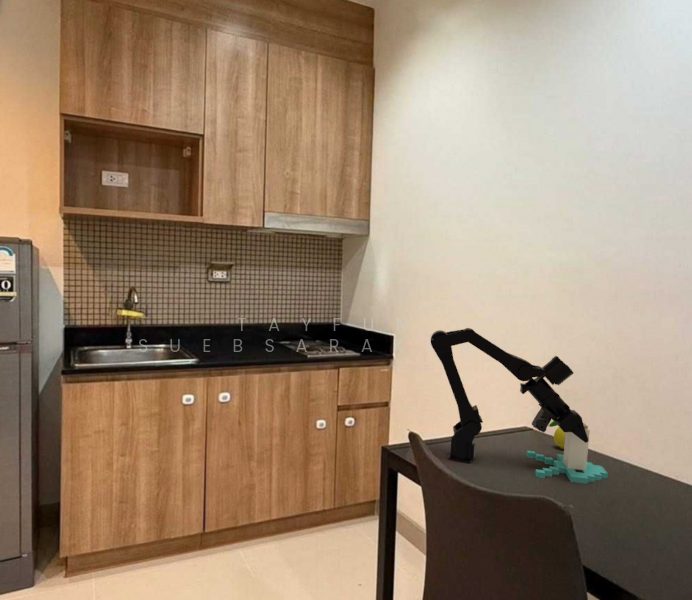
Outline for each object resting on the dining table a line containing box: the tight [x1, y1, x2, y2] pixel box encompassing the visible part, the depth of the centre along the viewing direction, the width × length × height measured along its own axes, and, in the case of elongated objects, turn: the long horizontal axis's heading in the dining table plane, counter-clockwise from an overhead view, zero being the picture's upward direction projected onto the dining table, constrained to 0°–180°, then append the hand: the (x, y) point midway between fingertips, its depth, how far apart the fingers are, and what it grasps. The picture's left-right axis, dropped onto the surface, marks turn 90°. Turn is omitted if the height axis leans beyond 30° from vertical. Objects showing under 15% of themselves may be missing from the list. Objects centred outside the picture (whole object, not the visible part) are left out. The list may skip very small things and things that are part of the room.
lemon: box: [548, 420, 566, 450], centre depth 175 cm, size 7×6×10 cm
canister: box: [563, 422, 590, 470], centre depth 153 cm, size 5×5×12 cm
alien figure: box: [526, 450, 609, 485], centre depth 154 cm, size 20×2×20 cm
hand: (582, 437), depth 152 cm, fingers open, 9 cm apart
